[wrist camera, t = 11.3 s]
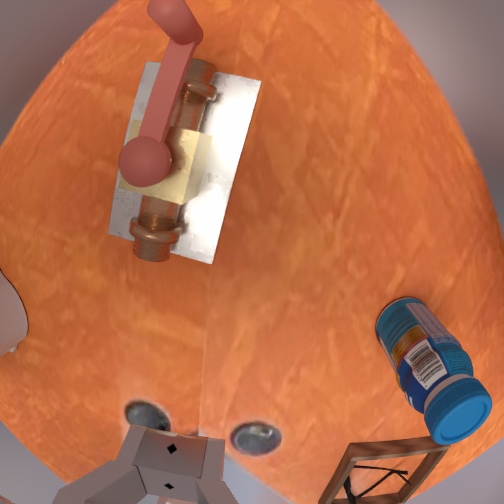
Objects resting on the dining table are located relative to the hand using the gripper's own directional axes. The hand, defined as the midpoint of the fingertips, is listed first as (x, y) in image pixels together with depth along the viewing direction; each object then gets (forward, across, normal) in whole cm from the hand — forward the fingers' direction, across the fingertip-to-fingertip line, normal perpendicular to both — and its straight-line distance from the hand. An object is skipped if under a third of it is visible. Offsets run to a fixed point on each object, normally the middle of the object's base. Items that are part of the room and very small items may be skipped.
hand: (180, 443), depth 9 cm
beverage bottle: (+30, -23, +11) cm, 39 cm away
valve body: (+30, +8, -7) cm, 32 cm away
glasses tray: (+29, -32, +49) cm, 66 cm away
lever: (+21, +7, -13) cm, 26 cm away
